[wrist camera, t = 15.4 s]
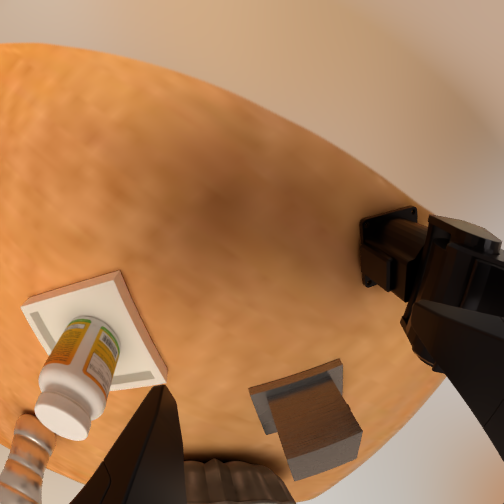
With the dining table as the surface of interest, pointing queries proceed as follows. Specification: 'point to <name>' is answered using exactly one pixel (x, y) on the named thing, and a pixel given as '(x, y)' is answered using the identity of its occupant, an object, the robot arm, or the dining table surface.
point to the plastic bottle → (26, 462)
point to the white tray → (109, 312)
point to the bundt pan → (233, 484)
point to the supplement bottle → (77, 378)
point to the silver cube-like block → (310, 419)
